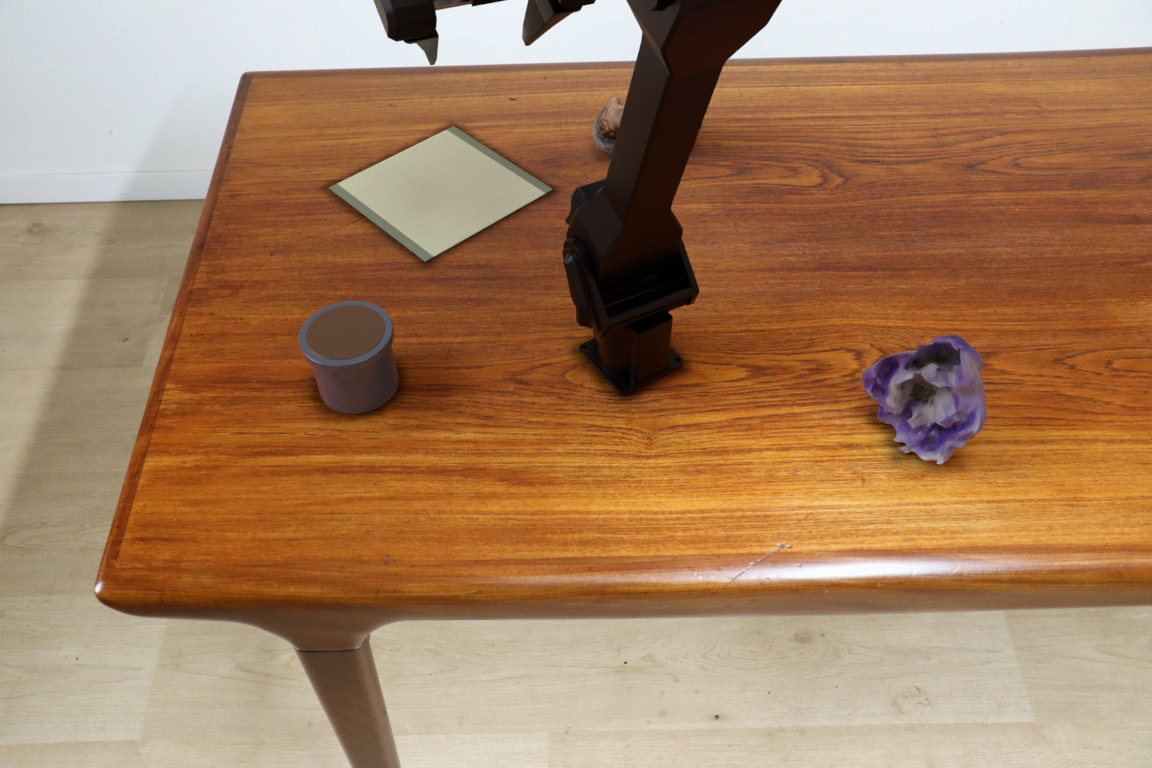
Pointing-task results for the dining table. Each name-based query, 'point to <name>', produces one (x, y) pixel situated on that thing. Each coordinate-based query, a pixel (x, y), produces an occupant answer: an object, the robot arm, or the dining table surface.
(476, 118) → the dining table surface
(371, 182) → the mat
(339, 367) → the pot
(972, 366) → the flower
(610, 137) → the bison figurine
